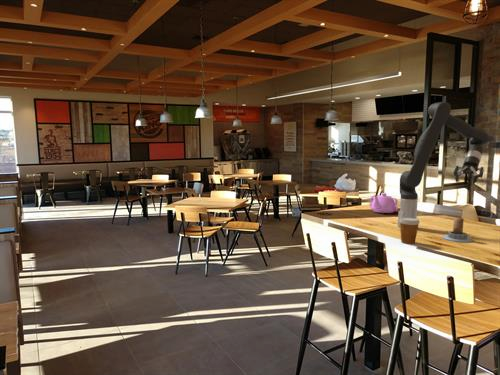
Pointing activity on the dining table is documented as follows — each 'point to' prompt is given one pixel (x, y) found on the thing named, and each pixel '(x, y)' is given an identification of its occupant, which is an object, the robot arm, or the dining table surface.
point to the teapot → (383, 204)
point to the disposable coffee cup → (408, 229)
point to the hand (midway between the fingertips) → (465, 181)
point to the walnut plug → (458, 226)
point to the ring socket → (457, 237)
